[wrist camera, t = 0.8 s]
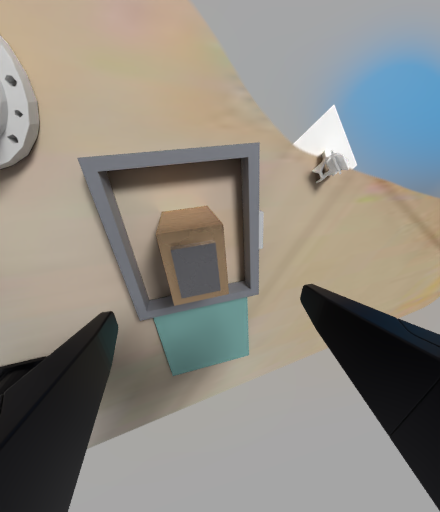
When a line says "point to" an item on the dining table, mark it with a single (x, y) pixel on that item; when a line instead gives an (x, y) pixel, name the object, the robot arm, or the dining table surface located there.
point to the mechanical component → (15, 109)
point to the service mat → (204, 335)
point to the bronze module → (193, 254)
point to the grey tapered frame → (119, 239)
